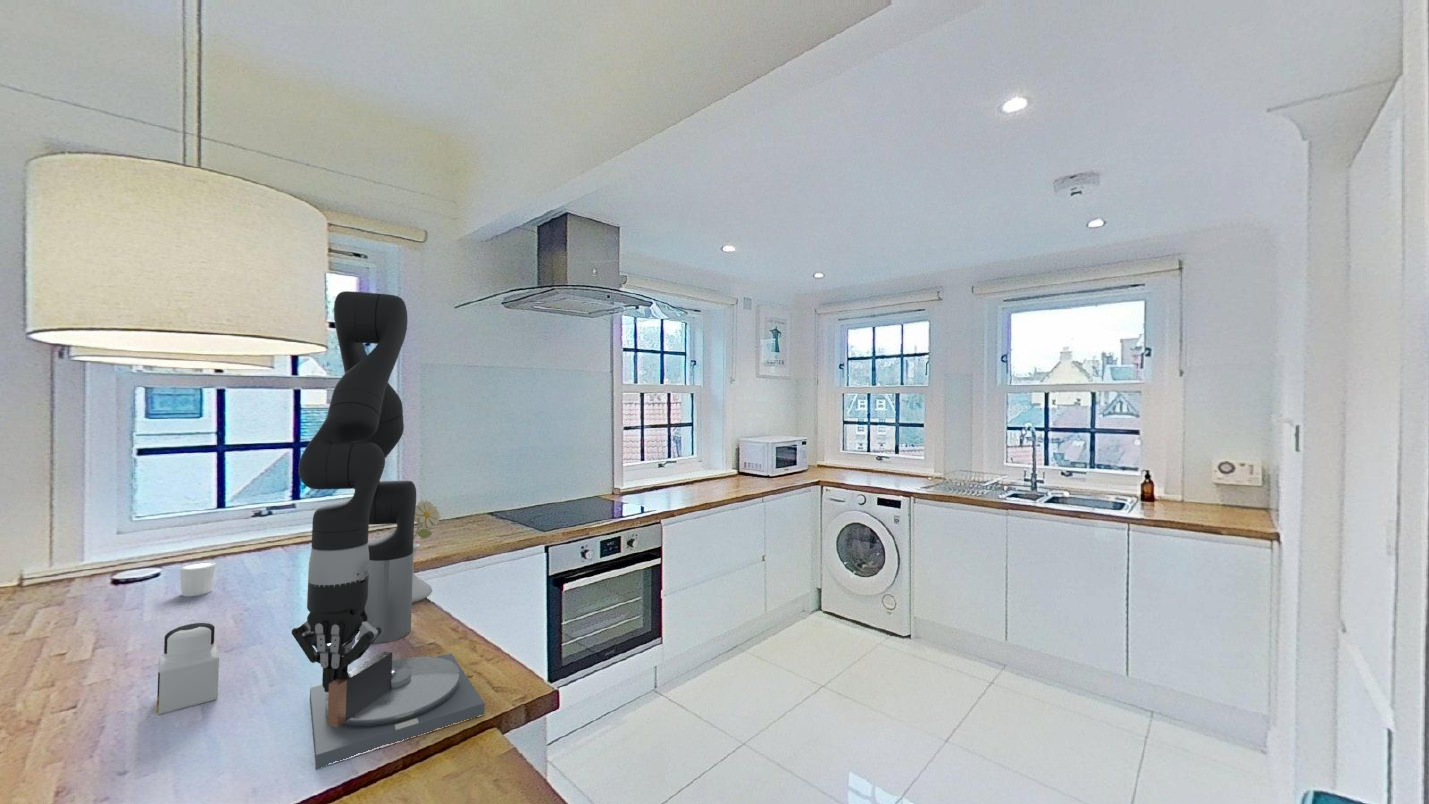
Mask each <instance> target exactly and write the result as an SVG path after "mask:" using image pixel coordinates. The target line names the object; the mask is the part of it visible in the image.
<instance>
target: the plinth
mask: <svg viewBox="0 0 1429 804" xmlns="http://www.w3.org/2000/svg"><path fill="white" fill-rule="evenodd" d="M435 657H436V658H442V659H446V660H449V661H451V662H453V663H454V664H455V665H457V667H458V669H459V684H458V687H457V689H456V690H455V692H454V693H453V694H452V695H451V696H450V697H449V698H448V699H446V700H445V701H444V702H442V703H441V704H439V705H437V706H436V707H434V708H432V709H430V710H428V711H425V712H423V713H421V714H418V715H416V716H413V717H410V718H407V719H403V720H400V721H396V722H391V723H386V724H380V725H371V726H351V725H344V724H341V725H340V726H338V727H332V726H328V717H327V715H326V713H325V699H326V695H327V693H328V692H325V691H324V688H323V685H322V684H320V685H315V686H311V687H310V688H309V705H310V717H311V718H310V719H311V728H312V730H313V731H312V740H313V742H314V743H313V752H314V753H315V754H314V764H315V765H316V766H315V770H319V769H322V768H321V767H323V768H325V767H324V766H326V765H328V764H329V763H333V762H335V761H340V760H343V759H346V758H349V757H351V756H354V755H356V754H358V753H363V752H366V751H368V750H372V749H374V748H377V747H380V746H382V745H386V744H391V743H395V742H397V741H402V740H403V739H404V740H405V739H407V738H411V737H413V736H418V735H421V734H424V733H427V732H430V731H433V730H435V729H437V728H442V727H445V726H448V725H451V724H453V723H458V722H461V721H464V720H467V719H471V718H474V717H477V716H479V715H483V714H484V715H485V702H484V700H483V698H482V697H481V696H480V694H479V692H478V691H477V690H476V688H475V686H474V685H473V683H472V682H471V680H470V679H469V677H468V676H467V674H466V673H465V671H464V670H463V668H462V666H460V664H459V662H458V660H457V659H456V658H455V656H454V655H453V653H451V652H450V653H446V654H443V655H442V654H441V655H439V656H435ZM326 767H327V766H326ZM318 768H319V769H318Z"/></svg>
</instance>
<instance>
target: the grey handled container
mask: <svg viewBox="0 0 1429 804" xmlns="http://www.w3.org/2000/svg"><path fill="white" fill-rule="evenodd" d="M163 644H164V646H163V647H164V648H163V655H161V656H160V657H159V658H158V659H159V660H158V668H157V669H158V670H157V671H158V672H157V701H156V714H157V715H159V716H160V715H163V714H168V713H170V712H174V711H179V710H181V709H186V708H190V707H194V706H198V705H200V704H206V703H209V702H213V701H215V700H217V699H218V698H219V677H220V676H219V673H220V671H219V670H220V669H219V667H220V656H219V649H218V644H215V625H213V624H212V623H207V622H194V623H189V624H185V625H181V626H179V627H176V628H174V629H172V630H169V631H168V632H167V633H166V634H165V635H164V643H163Z"/></svg>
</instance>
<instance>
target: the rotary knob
mask: <svg viewBox="0 0 1429 804" xmlns="http://www.w3.org/2000/svg"><path fill="white" fill-rule="evenodd" d="M436 657H437V656H413V657H403V658H397V659H396V658H395V659H393V652H390V651H382V652H381V653H379V654H377V655H376V656H373V657H372V658H370V659H368V660H367V661H365V662H364V663H362V664H360V665H358V666H357V667H355V668H353V669H351V670H349V671H348V673H346V674H345V675H343V676H341V677H340V678H338V679H336V680H334V681H333V682H331V683H329V692H328V693H327V695H326V699H325V713H326V715H327V717H328V726H332V727H338V726H340V725H341V724H344V725H351V726H371V725H380V724H386V723H391V722H396V721H400V720H403V719H407V718H410V717H413V716H416V715H418V714H421V713H423V712H425V711H428V710H430V709H432V708H434V707H436V706H437V705H439V704H441V703H442V702H444V701H445V700H446V699H448V698H449V697H450V696H451V695H452V694H453V693H454V692H455V690H456V689H457V687H458V684H459V669H458V667H457V665H455V664H454V663H453V662H451V661H449V660H446V659H442V658H436Z"/></svg>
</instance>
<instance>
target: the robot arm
mask: <svg viewBox="0 0 1429 804" xmlns="http://www.w3.org/2000/svg"><path fill="white" fill-rule="evenodd" d="M333 320H334V321H333V322H334V325H335V326H334V327H335V332H336V337H337V342H338V347H339V350H340V351H339V352H340V357H341V360H342V366H343V373H344V374H343V375H342V376H341V377H340V379H339V380H338V381H337V383H336V384H335V386H334V388H333V392H332V395H331V399H330V403H329V406H328V411H327V414H326V418H325V419H324V421H323V423H322V424H321V426H320V427H319V428H318V430H317V432H316V433H315V435H314V436H313V437H312V439H311V440H310V442H308V444H307V445H306V447H305V448H304V451H303V452H302V454H301V456H300V460H299V462H298V467H297V468H298V471H297V472H298V476H299V479H300V481H301V482H302V483H303V485H304V486H306V487H307V488H309V489H312V490H351V489H352V490H354V493H353V495H352V497H351V498H350V499H348V500H345V501H342V502H336V503H332V504H327V505H324V506H321V507H319V508H318V509H316V510H315V511H314V513H313V516H312V526H311V527H312V529H311V549H310V550H311V551H310V556H309V561H308V570H307V571H308V574H307V578H308V579H307V596H306V597H307V598H306V608H307V609H306V610H307V611H309V613H308V614H307V617H306V621H305V622H303V623H302V624H301V625H299V626H296V627H294V628H292V630H291V635H292V637H294V639H295V641H296V642H297V644H298V646H299V647H300V648H301V651H302V652H303V653H304V654H305V657H306V658H307V659H308V660H309V662H310V663H312V664H314V663H317V664H320V667H321V668H322V678H321V680H322V682H321V683H322V684H321V685H323V688H324V691H325V692H329V683H331V682H333V681H334V680H336V679H338V678H340V677H341V676H343V675H345V674H346V673H348V672H349V671H348V670H349V665H351V664H352V663H354V662H355V661H357V660H359V659H360V658H361V657H362V656H363V655H364V654H365V653H366V652H367V650H368V649H369V648H370V646H372V645H373V644H381V643H388V642H393V641H396V640H400V639H402V638H404V637H406V636H407V635H409V634H410V633H411V631H412V609H413V607H412V606H413V602H412V579H413V572H414V560H413V543H414V540H413V538H414V535H415V533H414V531H415V520H414V519H415V508H416V505H417V488H416V485H415V483H414V482H413V481H412V480H381V478H382V475H383V472H384V470H385V465H386V458H387V457H388V456H389V455H390V453H391V452H392V451H393V449H394V448H395V447H396V446H397V445H398V443H399V442H400V440H401V438H402V436H403V434H404V428H405V424H404V409H403V402H402V400H401V398H400V396H399V394H398V393H397V392H396V390H395V389H394V388H393V386H391V384H390V383H389V381H390V378H391V375H392V373H393V370H394V368H395V365H396V363H397V361H398V358H399V355H400V352H401V349H402V346H403V344H404V341H405V338H406V336H407V330H408V311H407V306H406V303H405V301H404V300H403V298H401V297H400V296H398V295H395V294H394V295H393V294H389V293H388V294H387V293H378V292H377V293H376V292H375V293H374V292H362V291H348V290H347V291H346V290H345V291H341V292H339V293H337V295H336V297H335V300H334V304H333ZM364 344H375V345H376V346H374V348H373V349H372V350H371V351H370V352H369V353H368V354H367V351H366V348H365V346H364ZM380 480H381V481H380ZM370 525H373V526H374V525H396V529H394V530H393V531H391V532H390V533H388V534H385V535H384V536H381V537H378V538H375V539H372V540H371V541H369V529H370ZM414 539H415V538H414ZM357 635H358V636H357ZM356 637H357V638H356ZM356 640H357V642H356ZM355 642H356V643H355Z"/></svg>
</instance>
